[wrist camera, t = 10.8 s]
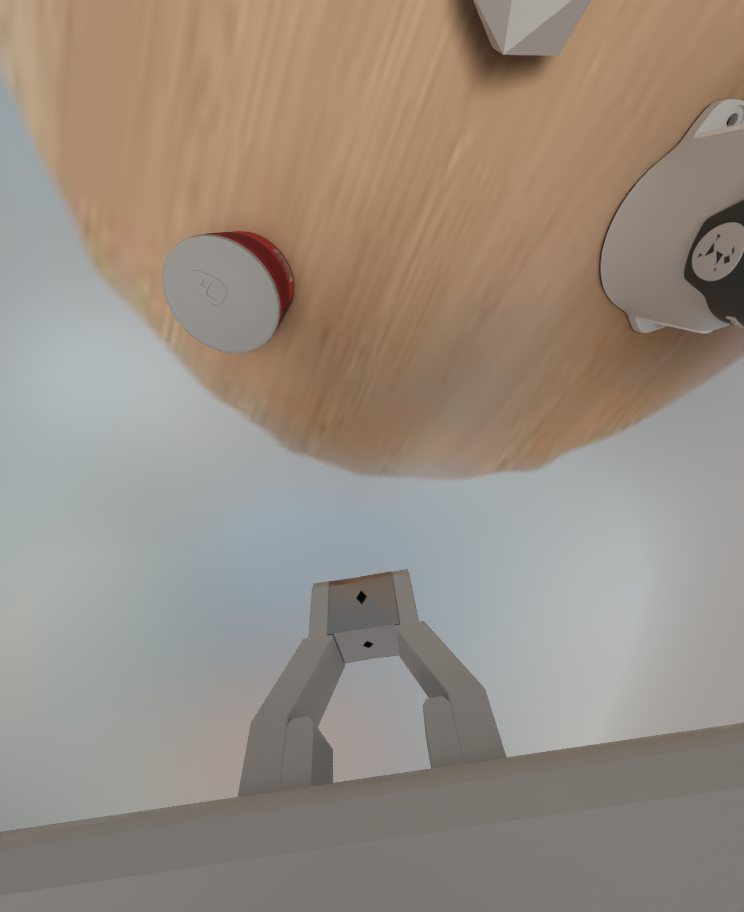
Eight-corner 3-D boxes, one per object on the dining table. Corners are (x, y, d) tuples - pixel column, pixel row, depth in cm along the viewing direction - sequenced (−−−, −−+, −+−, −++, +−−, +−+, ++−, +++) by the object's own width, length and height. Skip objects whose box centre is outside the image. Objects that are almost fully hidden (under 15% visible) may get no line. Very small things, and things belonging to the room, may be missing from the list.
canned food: (219, 213, 29) (167, 209, 20) (306, 257, 32) (293, 271, 23) (204, 299, 33) (154, 327, 24) (283, 332, 35) (264, 370, 26)
